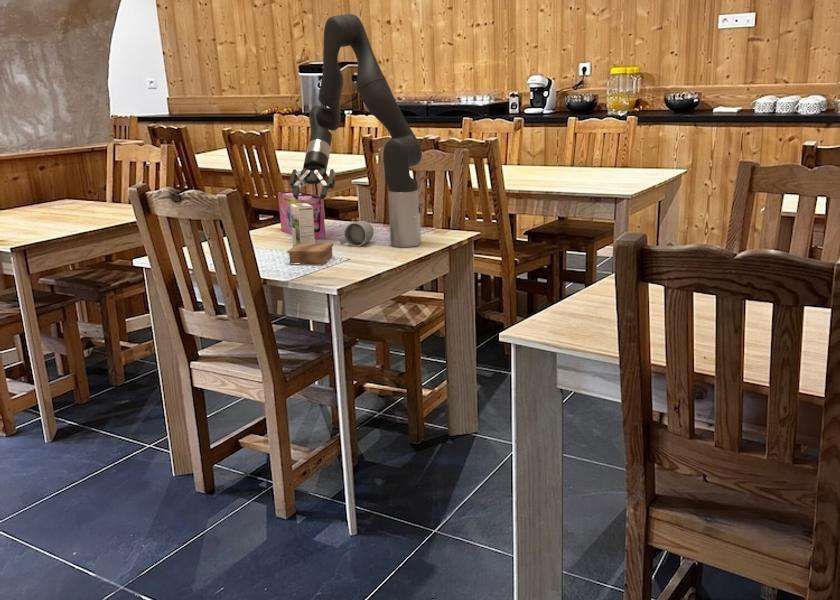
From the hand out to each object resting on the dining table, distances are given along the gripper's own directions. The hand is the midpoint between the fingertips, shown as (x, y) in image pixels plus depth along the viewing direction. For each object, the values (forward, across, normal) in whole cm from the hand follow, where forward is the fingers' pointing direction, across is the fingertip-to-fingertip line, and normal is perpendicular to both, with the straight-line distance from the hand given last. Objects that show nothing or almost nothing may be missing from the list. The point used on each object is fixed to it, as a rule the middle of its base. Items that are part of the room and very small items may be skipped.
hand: (309, 197), depth 247 cm
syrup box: (+17, 0, +5) cm, 18 cm away
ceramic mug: (+10, +14, +12) cm, 21 cm away
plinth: (+25, +6, -4) cm, 26 cm away
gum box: (-1, -9, +23) cm, 25 cm away
